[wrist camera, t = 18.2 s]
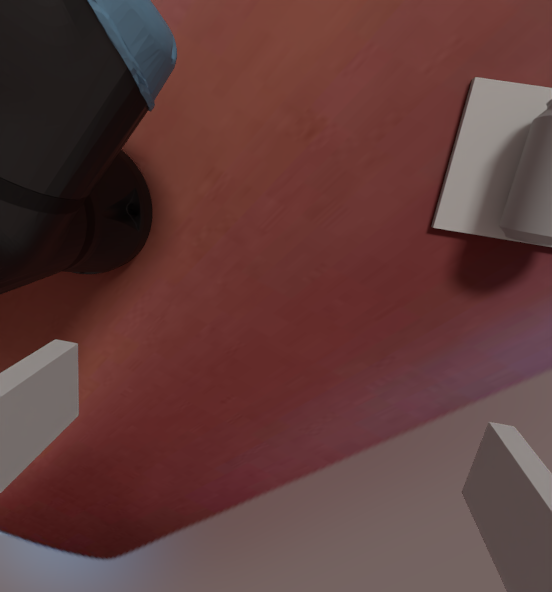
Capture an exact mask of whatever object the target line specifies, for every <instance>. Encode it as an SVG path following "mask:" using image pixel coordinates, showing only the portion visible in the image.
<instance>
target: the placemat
mask: <svg viewBox="0 0 552 592" xmlns="http://www.w3.org/2000/svg"><path fill="white" fill-rule="evenodd" d="M551 99H552V88H548V87H541V86H534V85H527V84H520V83H513V82H506V81H499V80H492V79H485V78H478V77H475V78H473V79H472V81H471V85H470V89H469V92H468V96H467V99H466V103H465V107H464V110H463V114H462V117H461V121H460V125H459V128H458V132H457V135H456V139H455V143H454V146H453V150H452V153H451V157H450V161H449V164H448V168H447V171H446V175H445V179H444V182H443V186H442V189H441V193H440V197H439V200H438V204H437V207H436V211H435V215H434V218H433V222H432V225H431V227H433V228H438V229H444V230H450V231H456V232H462V233H468V234H474V235H480V236H486V237H492V238H498V239H505V240H511V241H517V242H523V241H518V240H514V239H511V238H508V237H506V236H505V233H504V232H503V230H502V229H501V228H500V226H499V224H500V221H501V218H502V215H503V212H504V209H505V206H506V202H507V199H508V196H509V193H510V190H511V187H512V184H513V181H514V177H515V174H516V171H517V168H518V165H519V162H520V159H521V155H522V152H523V149H524V146H525V143H526V140H527V137H528V134H529V130H530V127H531V124H532V121H533V120H534V119H535V118H536V117H537V116H539V115H540V114H541V113H543V112H544V111H545V110H547V105H546V103H547V102H548V101H550V100H551ZM523 243H527V242H523ZM529 244H532V243H529ZM535 245H537V244H535ZM541 246H543V245H541ZM547 247H548V246H547Z"/></svg>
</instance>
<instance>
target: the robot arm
mask: <svg viewBox="0 0 552 592" xmlns="http://www.w3.org/2000/svg"><path fill="white" fill-rule="evenodd" d="M176 59H177V48H176V43H175V39H174V37H173V34H172V32H171V30H170V28H169V27H168V25H167V23H166V22H165V20H164V19H163V18H162V16H161V15H160V13H159V12H158V10H157V9H156V8H155V6H154V5H153V4H152V2H151V1H150V0H0V294H3V293H5V292H8V291H11V290H13V289H16V288H19V287H21V286H24V285H27V284H29V283H32V282H35V281H37V280H40V279H43V278H45V277H48V276H51V275H53V274H56V273H58V272H61V271H66V272H73V273H79V274H98V273H103V272H107V271H110V270H112V269H115V268H117V267H119V266H121V265H123V264H125V263H127V262H128V261H130V260H131V259H132V258H134V257H135V256H136V255H137V254H138V252H139V251H140V250H141V249H142V247H143V246H144V244H145V242H146V240H147V238H148V235H149V232H150V228H151V223H152V203H151V197H150V193H149V190H148V187H147V184H146V182H145V180H144V178H143V176H142V174H141V172H140V170H139V169H138V167H137V166H136V165H135V163H134V162H133V161H132V160H131V159H130V158H129V157H128V156H127V155H126V154H125V153H124V152H123V151H122V150H121V149H122V147H123V146H124V145H125V143H126V142H127V140H128V139H129V137H130V136H131V134H132V133H133V132H134V130H135V129H136V127H137V126H138V124H139V123H140V121H141V120H142V119H143V117H144V116H145V114H146V113H147V111H148V110H149V111H152V109H153V108H154V105H155V104H154V100H155V98H156V97H157V95H158V93H159V92H160V90H161V89H162V87H163V85H164V84H165V82H166V81H167V79H168V77H169V76H170V74H171V72H172V71H173V69H174V67H175V64H176ZM78 415H79V399H78V343H73V342H67V341H62V340H57V339H55V340H53V341H52V342H50V343H48V344H47V345H45V346H43V347H42V348H40V349H39V350H37V351H35V352H34V353H32V354H30V355H29V356H27V357H26V358H24V359H22V360H21V361H19V362H18V363H16V364H14V365H13V366H11V367H9V368H8V369H6V370H5V371H3V372H1V373H0V493H1V492H2V491H3V490H4V489H5V488H6V487H7V486H8V485H9V484H10V483H11V482H12V481H13V480H14V479H15V478H16V477H17V476H18V475H19V474H20V473H21V472H22V471H23V470H24V469H25V468H26V467H27V466H28V465H29V464H30V463H31V462H32V461H33V460H34V459H35V458H36V457H37V456H38V455H39V454H40V453H41V452H42V451H43V450H44V449H45V448H46V447H47V446H48V445H49V444H50V443H51V442H52V441H53V440H54V439H55V438H56V437H57V436H58V435H59V434H60V433H61V432H62V431H63V430H64V429H65V428H66V427H67V426H68V425H69V424H70V423H71V422H72V421H73V420H74V419H75V418H76V417H77V416H78ZM462 494H463V496H464V499H465V501H466V503H467V505H468V507H469V509H470V512H471V514H472V516H473V518H474V520H475V522H476V525H477V527H478V529H479V531H480V533H481V536H482V538H483V540H484V542H485V544H486V547H487V549H488V551H489V553H490V555H491V557H492V560H493V562H494V564H495V566H496V568H497V571H498V572H499V575H500V577H501V579H502V582H503V584H504V586H505V588H506V590H507V592H552V474H551V472H550V471H549V470H548V469H547V467H546V466H545V465H544V463H543V462H542V461H541V460H540V458H539V457H538V456H537V455H536V453H535V452H534V451H533V450H532V448H531V447H530V446H529V444H528V443H527V442H526V441H525V439H524V438H523V437H522V436H521V434H520V433H519V432H518V431H517V429H516V428H515V427H513V426H509V425H503V424H498V423H493V422H489V423H488V426H487V428H486V430H485V433H484V436H483V438H482V441H481V443H480V446H479V449H478V451H477V454H476V457H475V459H474V462H473V464H472V467H471V469H470V472H469V475H468V477H467V480H466V482H465V485H464V487H463V490H462Z"/></svg>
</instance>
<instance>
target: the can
mask: <svg viewBox="0 0 552 592" xmlns="http://www.w3.org/2000/svg"><path fill="white" fill-rule="evenodd" d="M546 105H547V110H545V111H544V112H543V113H541V114H540V115H539V116H537V117H536V118H535V119H534V120H533V121H532V124H531V127H530V130H529V134H528V137H527V140H526V143H525V146H524V149H523V152H522V155H521V159H520V162H519V165H518V168H517V171H516V174H515V177H514V181H513V184H512V187H511V190H510V193H509V196H508V199H507V202H506V206H505V209H504V212H503V215H502V218H501V221H500V224H499V226H500V228H501V229H502V230H503V232H504V233H505V236H506V237H508V238H511V239H514V240H518V241H523V242H527V243H532V244H537V245H543V246H548V247H552V99H551V100H550V101H548V102H547V103H546Z"/></svg>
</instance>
